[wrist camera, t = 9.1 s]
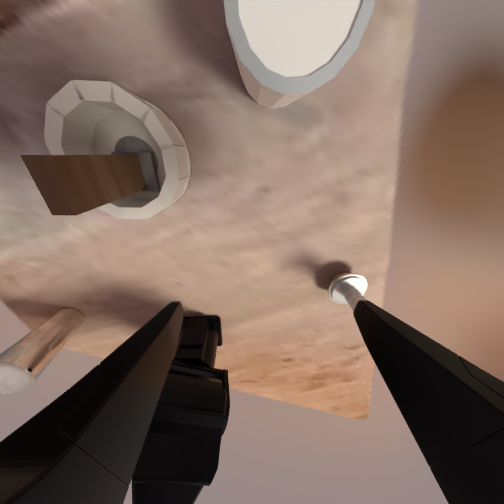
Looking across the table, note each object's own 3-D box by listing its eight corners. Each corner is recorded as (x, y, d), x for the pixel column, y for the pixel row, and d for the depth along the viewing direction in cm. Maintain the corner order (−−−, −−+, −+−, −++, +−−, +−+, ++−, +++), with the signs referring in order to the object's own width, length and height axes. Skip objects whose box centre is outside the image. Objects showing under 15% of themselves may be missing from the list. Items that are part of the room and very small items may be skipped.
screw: (333, 298, 26) (316, 279, 24) (363, 280, 25) (348, 258, 23) (402, 410, 15) (380, 390, 13) (466, 388, 13) (452, 362, 11)
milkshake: (73, 297, 24) (-25, 379, 15) (96, 323, 27) (24, 407, 18) (41, 302, 24) (-73, 387, 15) (68, 328, 27) (-17, 412, 18)
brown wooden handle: (152, 152, 16) (68, 151, 8) (161, 190, 17) (96, 219, 10) (115, 151, 15) (-7, 149, 8) (126, 189, 17) (34, 218, 10)
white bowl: (196, 209, 19) (187, 220, 16) (106, 207, 18) (78, 219, 15) (182, 98, 14) (166, 82, 11) (64, 92, 14) (12, 74, 11)
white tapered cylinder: (228, 111, 15) (218, 83, 9) (234, -18, 12) (223, -203, 6) (306, 123, 16) (347, 104, 10) (332, 3, 12) (419, -142, 6)
